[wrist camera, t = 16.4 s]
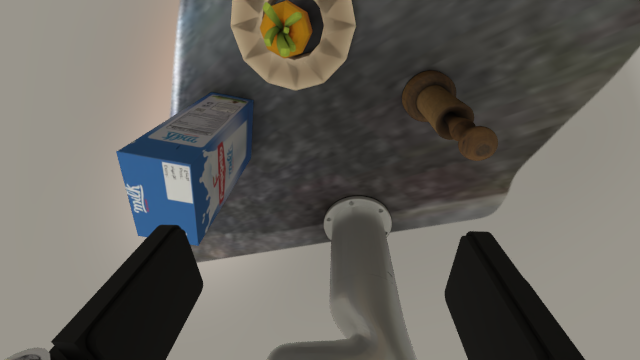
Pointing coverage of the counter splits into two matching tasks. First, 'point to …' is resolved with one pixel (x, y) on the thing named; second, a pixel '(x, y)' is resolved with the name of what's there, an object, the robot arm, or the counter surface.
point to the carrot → (285, 28)
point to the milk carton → (188, 165)
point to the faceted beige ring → (295, 68)
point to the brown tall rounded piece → (447, 114)
